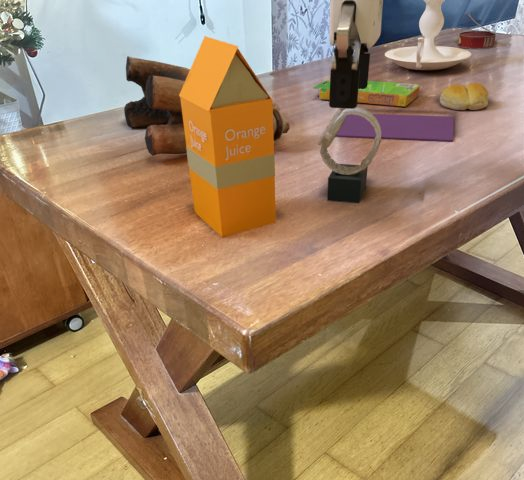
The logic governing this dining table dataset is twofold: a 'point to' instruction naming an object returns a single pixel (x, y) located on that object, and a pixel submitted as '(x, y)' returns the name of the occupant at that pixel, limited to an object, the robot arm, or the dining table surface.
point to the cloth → (400, 127)
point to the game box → (379, 93)
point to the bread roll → (465, 97)
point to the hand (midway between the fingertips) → (349, 97)
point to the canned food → (476, 38)
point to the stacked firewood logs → (167, 106)
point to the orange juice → (229, 140)
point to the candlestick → (428, 44)
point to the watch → (345, 175)
